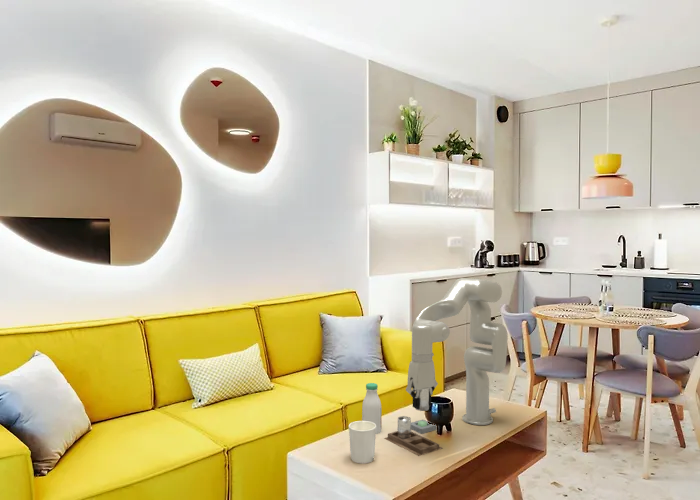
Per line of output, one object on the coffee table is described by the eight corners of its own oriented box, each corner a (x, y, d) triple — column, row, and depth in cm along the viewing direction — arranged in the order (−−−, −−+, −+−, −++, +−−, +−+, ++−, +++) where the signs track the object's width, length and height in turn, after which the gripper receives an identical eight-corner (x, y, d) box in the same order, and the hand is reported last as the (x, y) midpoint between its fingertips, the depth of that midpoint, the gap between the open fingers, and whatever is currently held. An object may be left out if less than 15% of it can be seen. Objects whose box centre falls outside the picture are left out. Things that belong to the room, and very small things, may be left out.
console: (422, 426, 224) (423, 419, 224) (436, 432, 218) (436, 425, 218) (408, 430, 220) (408, 423, 220) (421, 436, 213) (421, 429, 213)
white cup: (349, 452, 198) (349, 420, 198) (376, 453, 198) (376, 420, 197) (348, 464, 188) (348, 430, 188) (376, 464, 188) (376, 430, 188)
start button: (422, 429, 221) (422, 420, 221) (428, 432, 218) (428, 422, 218) (416, 431, 219) (416, 421, 219) (422, 433, 216) (422, 424, 216)
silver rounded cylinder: (422, 405, 203) (423, 382, 202) (431, 409, 199) (431, 386, 198) (412, 407, 200) (412, 384, 200) (421, 411, 196) (421, 388, 196)
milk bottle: (380, 438, 212) (379, 387, 211) (360, 436, 214) (360, 386, 213) (382, 430, 220) (382, 382, 219) (364, 429, 221) (363, 381, 221)
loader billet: (404, 435, 212) (404, 413, 211) (413, 439, 207) (413, 417, 207) (395, 438, 209) (395, 416, 208) (403, 442, 205) (403, 420, 204)
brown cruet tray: (407, 434, 216) (407, 427, 216) (443, 451, 199) (443, 443, 199) (383, 441, 209) (383, 434, 209) (418, 459, 192) (418, 451, 192)
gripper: (432, 352, 207) (431, 399, 207) (397, 358, 197) (397, 408, 198) (446, 356, 200) (445, 404, 201) (411, 362, 191) (411, 413, 191)
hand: (421, 406), depth 199 cm, fingers closed on silver rounded cylinder, 5 cm apart
